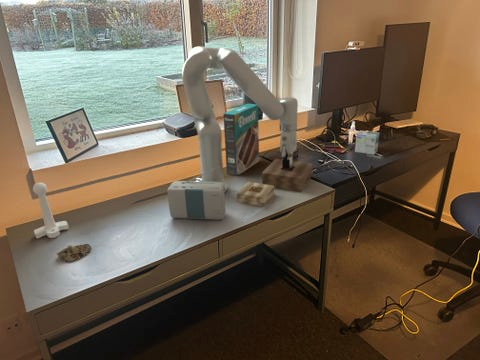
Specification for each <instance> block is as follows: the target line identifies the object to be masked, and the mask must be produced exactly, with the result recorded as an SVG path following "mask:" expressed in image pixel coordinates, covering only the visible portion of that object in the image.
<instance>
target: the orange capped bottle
mask: <svg viewBox="0 0 480 360" xmlns="http://www.w3.org/2000/svg"><path fill="white" fill-rule="evenodd" d="M286 153H287V152H286ZM285 155H286V154H285ZM286 156H287V155H286ZM289 160H290V167H289V168H283V170H288V171H292V154H289Z"/></svg>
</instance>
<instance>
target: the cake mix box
mask: <svg viewBox="0 0 480 360" xmlns="http://www.w3.org/2000/svg"><path fill="white" fill-rule="evenodd" d="M222 114H223V130H224V149H225V151H224V152H225V164H226V165H225V167H226V174H227V175H231V176H235V177H237V176H240V175H241V174H242V173H244V172H246V170H249V168H251V167H252V166H254V165H255V164H257V163H258V162H260V145H259V144H260V141H259V140H260V138H259V135H260V134H259V132H260V131H259V107H258V105H257V104H256V103H246V104H244V105H241V106H238V107H236V108H233V109H230V110H228V111H226V112H224V113H222Z"/></svg>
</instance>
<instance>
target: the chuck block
mask: <svg viewBox="0 0 480 360" xmlns="http://www.w3.org/2000/svg"><path fill="white" fill-rule="evenodd" d="M312 168H313V163H310V162H302V161H294V160H293V164H292V171H288V170H283V167H282V159H279V158H275V159H274V160H273V161H272V162H271V163H270V164H269V165H268V166H267V167H266V168H265V169H264V170H263V171H262V172H261V184H266V185H272V186H274V189H279V190H286V191H290V192H291V191H292V192H297V193H298V192H299V193H301V192H303V189H304V188H305V187H306V185H307V184H308V182H309V181H310V180H311V179H312V174H313V173H312V172H313V169H312Z"/></svg>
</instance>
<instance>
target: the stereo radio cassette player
mask: <svg viewBox="0 0 480 360" xmlns="http://www.w3.org/2000/svg"><path fill="white" fill-rule="evenodd" d="M218 168H220V167H218ZM215 169H216V168H215ZM215 169H213V170H215ZM213 170H211V171H213ZM211 171H208V172H206V173H204V174H200V175H197V176H195V177H193V178H192V179H189V180H186V181H185V180H175V181H173V182H172V183H171V184H170V185H169V187H168V188H167V199H168V200H167V201H168V208H169V214H170V218H173V219H189V220H191V219H192V220H194V219H195V220H214V221H215V220H217V221H221V220H223V219H224V218H225V216H226V199H225V192H224V183H225V182H224V183H223V182H196V178H201V177H202V176H203V175H205V174H207V173H209V172H211Z"/></svg>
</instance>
